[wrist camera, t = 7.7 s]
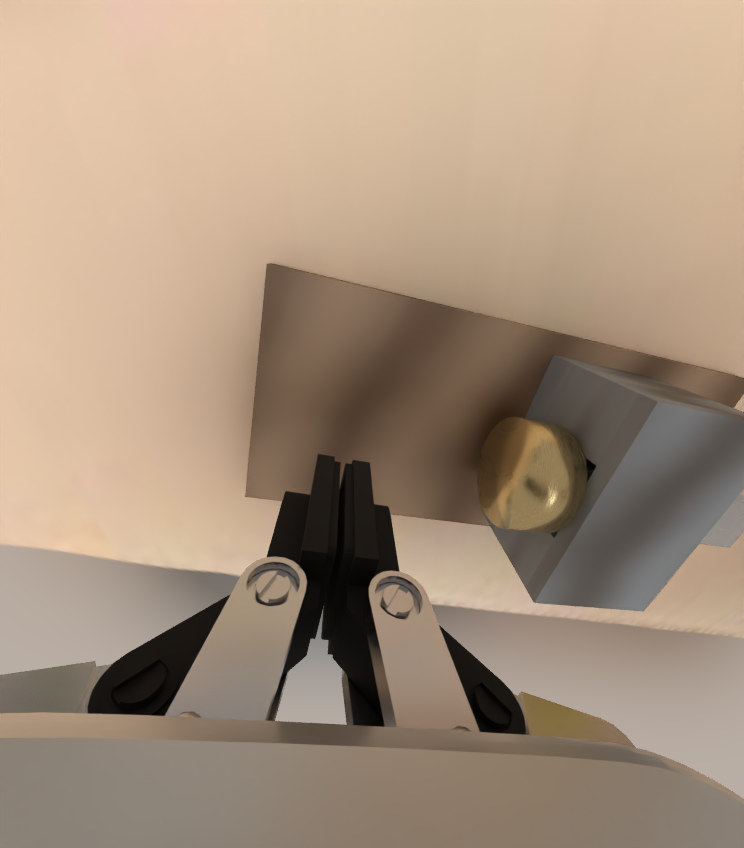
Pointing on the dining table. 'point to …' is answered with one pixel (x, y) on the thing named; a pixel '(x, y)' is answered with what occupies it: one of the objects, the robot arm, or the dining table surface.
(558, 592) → the bearing stand
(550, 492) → the shaft
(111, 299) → the dining table surface
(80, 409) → the dining table surface
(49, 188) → the dining table surface
